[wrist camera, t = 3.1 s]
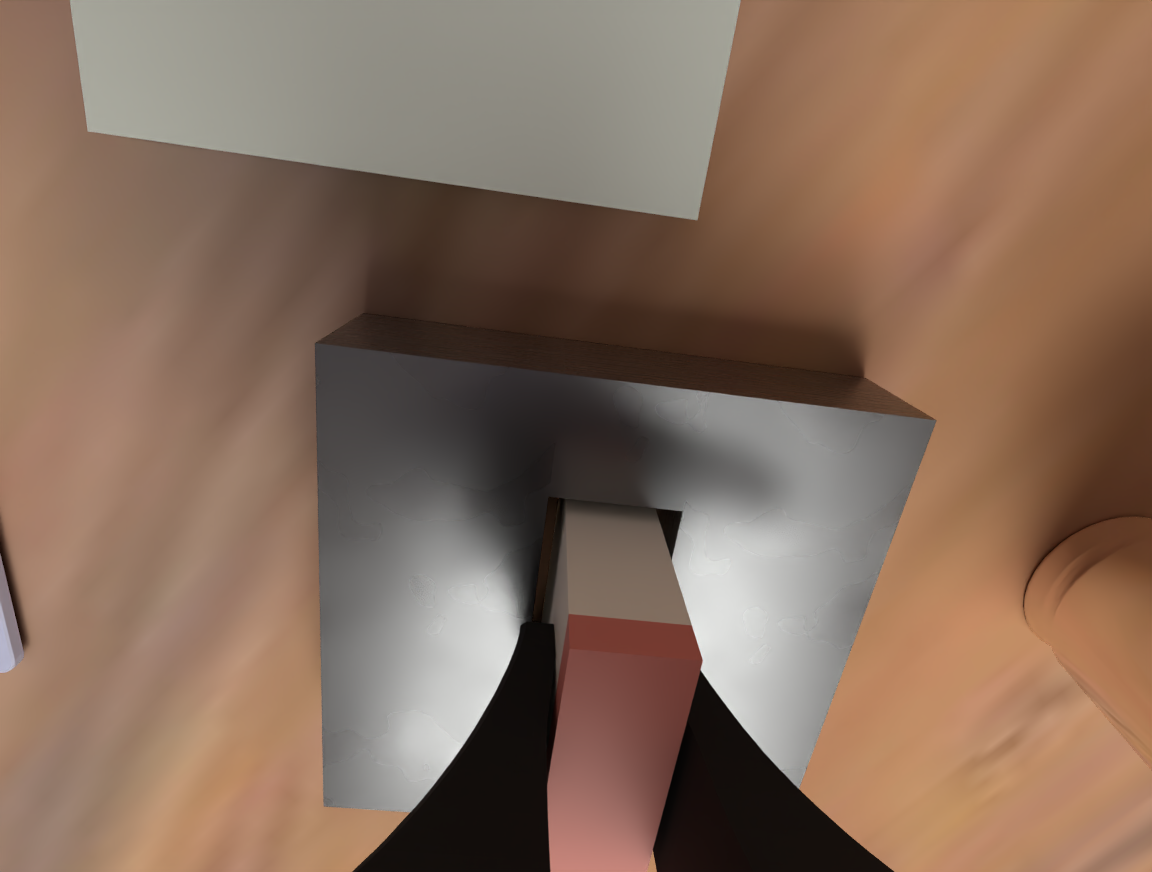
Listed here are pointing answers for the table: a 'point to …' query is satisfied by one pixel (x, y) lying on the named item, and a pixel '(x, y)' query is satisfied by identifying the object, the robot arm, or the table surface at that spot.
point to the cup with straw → (1102, 620)
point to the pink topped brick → (613, 685)
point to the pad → (427, 88)
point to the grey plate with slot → (591, 473)
